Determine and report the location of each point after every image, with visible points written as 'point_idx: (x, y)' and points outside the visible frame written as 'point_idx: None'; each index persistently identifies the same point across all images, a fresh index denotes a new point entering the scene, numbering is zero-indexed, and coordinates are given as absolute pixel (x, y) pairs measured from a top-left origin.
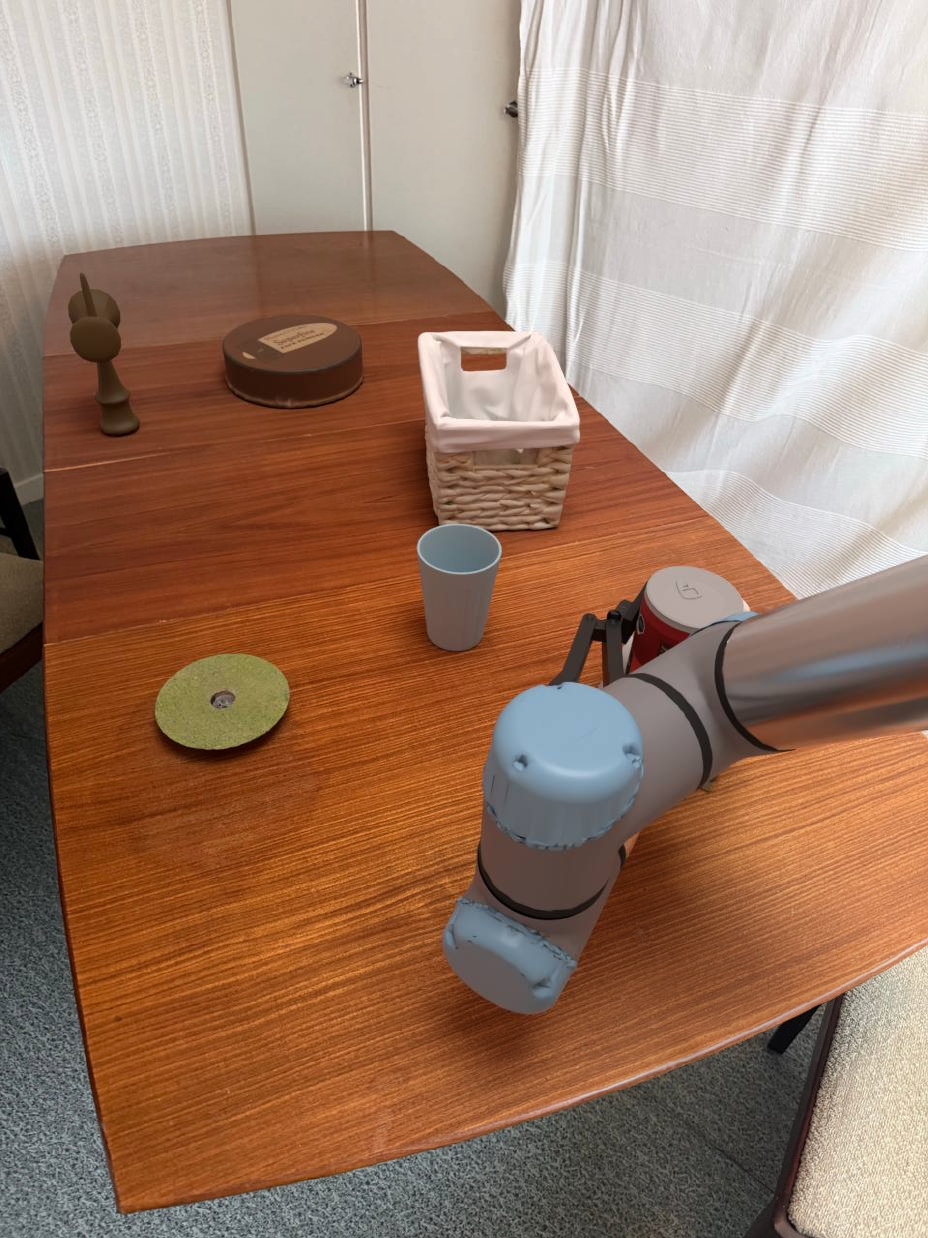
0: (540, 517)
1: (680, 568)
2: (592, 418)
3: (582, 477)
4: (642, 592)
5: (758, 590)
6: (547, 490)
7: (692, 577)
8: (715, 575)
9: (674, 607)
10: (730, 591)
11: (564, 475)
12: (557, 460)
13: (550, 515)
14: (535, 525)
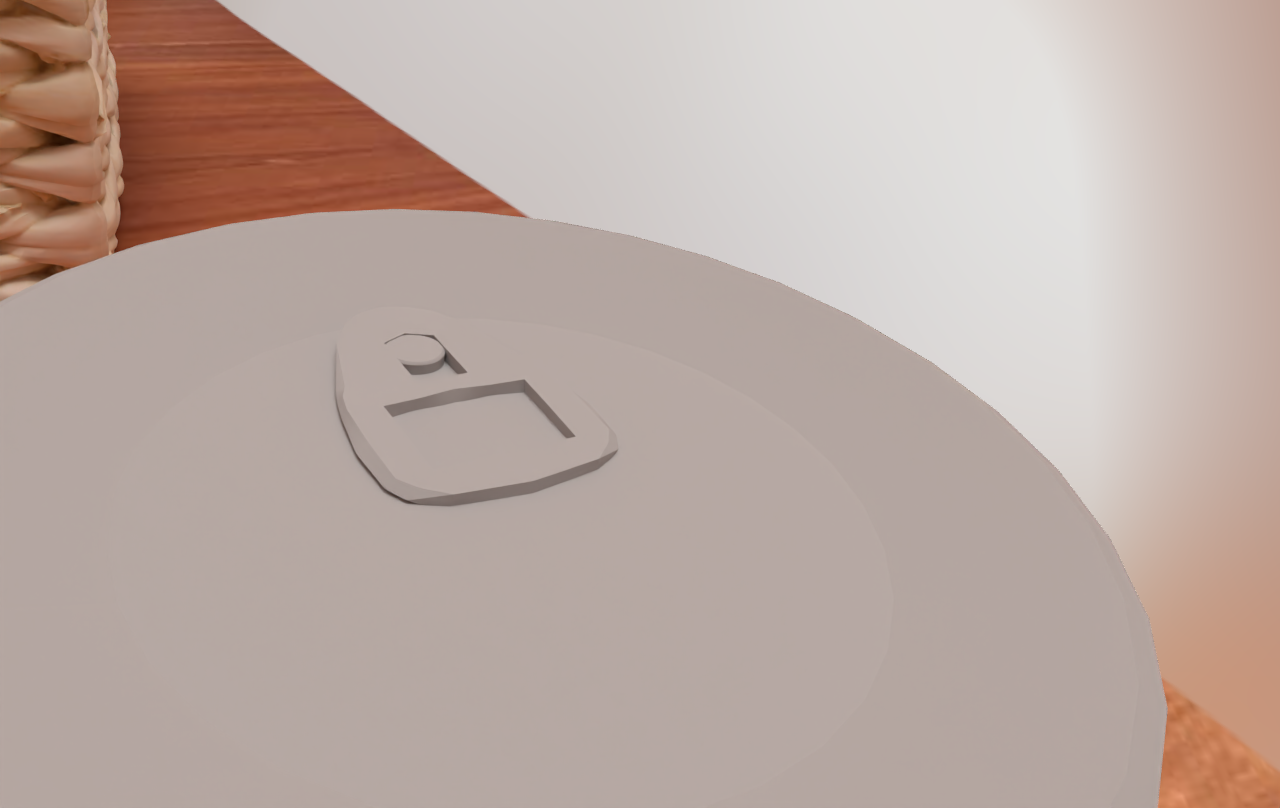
0: (19, 260)
1: (398, 225)
2: (316, 75)
3: (251, 180)
4: None
5: None
6: (18, 146)
7: (513, 296)
8: (719, 268)
9: (217, 646)
10: (893, 389)
11: (68, 76)
12: (24, 10)
13: (59, 251)
14: (5, 292)
